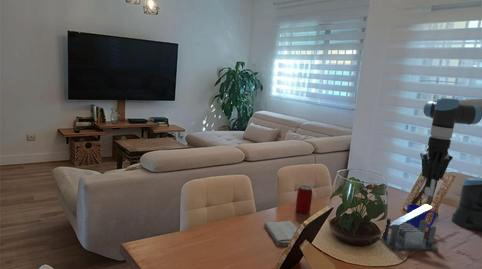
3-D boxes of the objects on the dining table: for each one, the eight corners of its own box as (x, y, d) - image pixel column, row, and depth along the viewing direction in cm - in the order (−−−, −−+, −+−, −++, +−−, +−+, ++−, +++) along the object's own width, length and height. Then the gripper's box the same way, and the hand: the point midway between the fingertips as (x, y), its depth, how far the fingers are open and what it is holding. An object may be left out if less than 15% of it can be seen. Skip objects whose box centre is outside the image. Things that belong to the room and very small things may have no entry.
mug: (435, 235, 154) (439, 213, 152) (406, 230, 156) (410, 209, 154) (429, 227, 162) (433, 207, 160) (401, 223, 164) (405, 202, 162)
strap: (426, 205, 144) (425, 202, 144) (433, 209, 140) (432, 206, 140) (386, 226, 143) (385, 223, 143) (392, 230, 139) (391, 228, 139)
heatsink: (418, 236, 151) (421, 216, 149) (437, 250, 139) (442, 229, 138) (375, 235, 148) (378, 215, 146) (391, 250, 136) (395, 228, 134)
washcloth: (277, 247, 131) (278, 240, 130) (262, 226, 148) (263, 219, 147) (306, 246, 134) (307, 238, 133) (288, 225, 151) (289, 218, 150)
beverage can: (311, 211, 168) (314, 187, 166) (306, 215, 162) (309, 190, 160) (298, 207, 171) (301, 184, 169) (293, 211, 166) (296, 187, 164)
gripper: (448, 136, 142) (436, 192, 146) (419, 134, 140) (408, 190, 144) (462, 140, 135) (449, 198, 139) (431, 138, 132) (420, 197, 136)
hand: (428, 194), depth 141 cm, fingers closed
